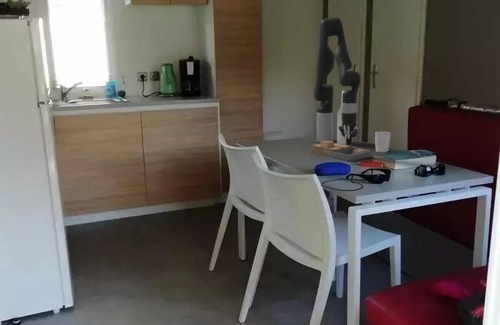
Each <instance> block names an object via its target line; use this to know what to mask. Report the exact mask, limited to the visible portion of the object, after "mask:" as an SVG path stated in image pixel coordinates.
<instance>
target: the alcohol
mask: <svg viewBox="0 0 500 325" xmlns="http://www.w3.org/2000/svg"><path fill="white" fill-rule="evenodd" d="M345 91H346V90H342V91H341V97H342V96H343V92H345ZM340 101H341V102H340V107H339V109H338V110H337V113H336V143H339V144H344V145H346V138H345V137H343V135H342V133H341V132H340V130H339V126H341V125H342V122H343V121H342V99H341V100H340ZM353 138H354V137H353ZM353 138H352V142H353Z"/></svg>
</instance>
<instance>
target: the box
mask: <svg viewBox="0 0 500 325" xmlns="http://www.w3.org/2000/svg"><path fill="white" fill-rule="evenodd" d="M357 149H360V148H357V147H352V148H348V149H343V150H339V151H334V152H332V157H331V158H332V159H334V160H335V159H336V160H341V161H345V162H346V161H347V162H354V161H358V160H362V159H366V158H371V157H372V150H371V149H370V150H368V149H364V148H361V149H362V150H367V151H365V152H361V153H356V154H353V150H357Z"/></svg>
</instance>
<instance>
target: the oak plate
mask: <svg viewBox="0 0 500 325" xmlns="http://www.w3.org/2000/svg"><path fill="white" fill-rule="evenodd" d="M348 148H353V147H352V145H350V146H348V145H344V144H339V143H337V142H334V147H329V148H326V147H320V143H317V144H312V145H310V153H311V154H315V155H319V156H324V157H328V158H329V157H330V158H332V152H334V151H339V150H343V149H348Z"/></svg>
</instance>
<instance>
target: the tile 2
mask: <svg viewBox="0 0 500 325" xmlns="http://www.w3.org/2000/svg"><path fill="white" fill-rule="evenodd" d="M362 149H363V148H359V149H357V150H353V154H356V153H361V152H365V151H367V150H368V149H365V150H362Z"/></svg>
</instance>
